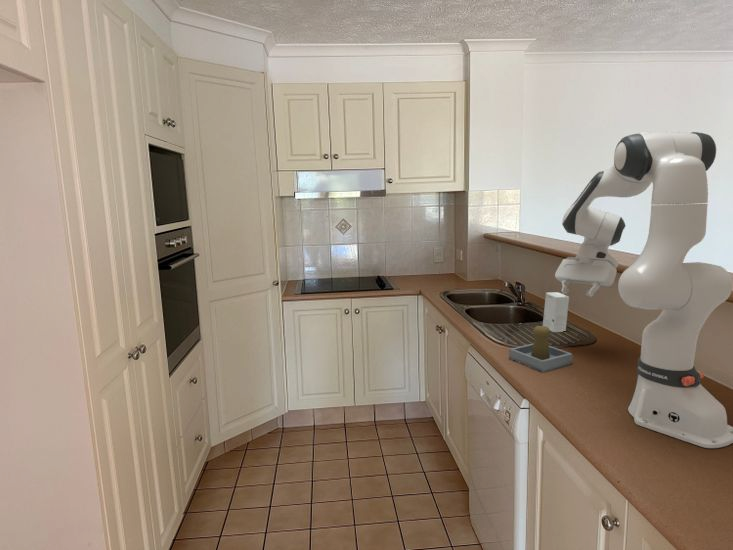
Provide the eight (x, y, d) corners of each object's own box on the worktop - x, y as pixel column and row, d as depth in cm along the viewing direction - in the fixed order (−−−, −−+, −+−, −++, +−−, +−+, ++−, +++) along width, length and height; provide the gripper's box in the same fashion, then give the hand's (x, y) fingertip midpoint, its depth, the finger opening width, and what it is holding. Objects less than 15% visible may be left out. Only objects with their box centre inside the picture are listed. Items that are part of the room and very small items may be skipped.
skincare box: (542, 327, 194) (544, 292, 192) (555, 326, 195) (557, 291, 193) (553, 333, 186) (555, 296, 184) (567, 332, 187) (569, 295, 185)
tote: (572, 363, 153) (572, 353, 153) (542, 372, 147) (542, 361, 146) (538, 351, 165) (538, 342, 165) (509, 358, 159) (509, 349, 158)
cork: (538, 362, 152) (539, 330, 150) (526, 356, 158) (528, 325, 156) (553, 360, 154) (555, 328, 152) (542, 354, 160) (543, 323, 158)
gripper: (559, 252, 167) (545, 287, 164) (613, 254, 149) (598, 293, 147) (569, 261, 170) (555, 295, 167) (623, 263, 152) (609, 301, 150)
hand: (576, 294), depth 157 cm, fingers open, 8 cm apart
